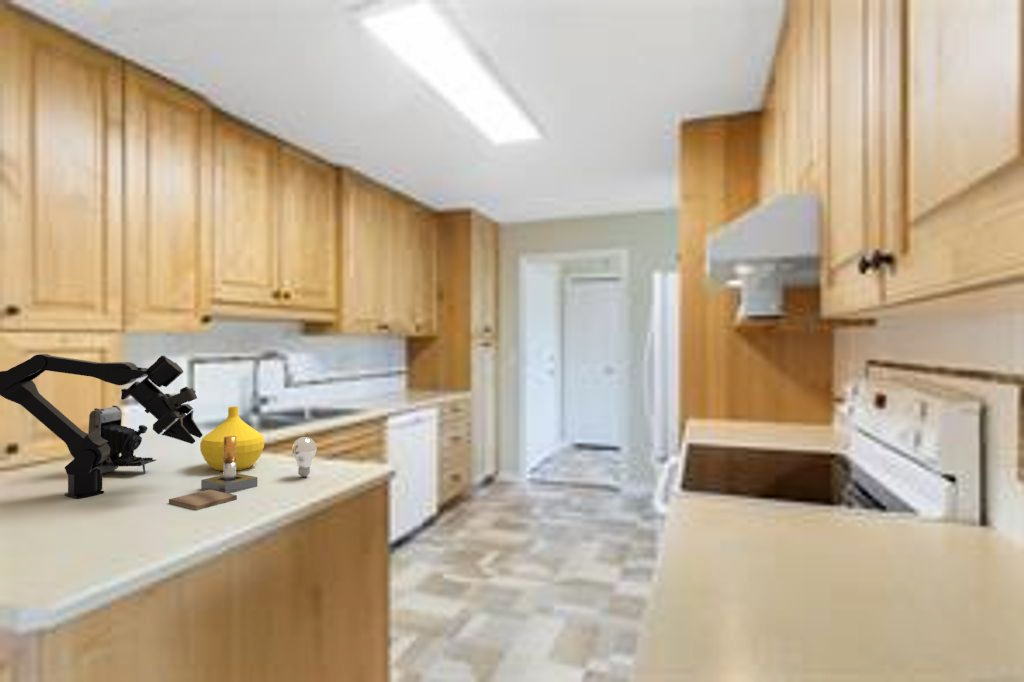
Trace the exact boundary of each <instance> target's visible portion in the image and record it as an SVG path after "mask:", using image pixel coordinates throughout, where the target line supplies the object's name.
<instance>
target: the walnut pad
mask: <svg viewBox="0 0 1024 682" xmlns="http://www.w3.org/2000/svg"><path fill="white" fill-rule="evenodd" d="M237 497H238V495H237V494H232V493H229V494H228V493H223V492H219V491H214V490H202V491H197V492H193V493H190V494H184V495H181V496H177V497H172V498H168V504H171V505H173V506H179V507H183V508H186V509H191V510H195V511H198V510H202V509H205V508H206V509H207V508H209V507H213V506H217V505H220V504H223V503H228V502H231V501H235V500H238V498H237Z"/></svg>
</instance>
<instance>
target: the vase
mask: <svg viewBox="0 0 1024 682" xmlns="http://www.w3.org/2000/svg"><path fill="white" fill-rule="evenodd" d="M227 410H228V411H227V413H228V414H227V417H226V419H224V421H222V422H221V423H220V424H219V425H218V426H216V427H215V428H214V429H212V430H211V431H210V432H208V433H207V434H206V435H205V436H204V435H203V436H202V437H201V438H202V439H201V441H200V446H199V449H200V453H201V455H202V457H203V460H204V461H205V462H206V463H207V464H208V465H209V466H210V467H211V468H213V470H216V471H220V472H223V458H224V437H226V436H237V442H236V472H238V471H242V470H247V469H248V468H250V467H251V466H253V465H254V464H255V463H256V462H257V461H258V460H259V458H260V457H261V455H262V453H263V451H264V448H265V437H264V436H263V434H262V433H261V432H259V431H257V430H256V429H255V428H253V427H252V426H250V425H249V424H248V423H246V422H245V421H244V420H243V419H242V418H241V417H240V415H239V406H228V409H227Z"/></svg>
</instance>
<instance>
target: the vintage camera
mask: <svg viewBox="0 0 1024 682" xmlns="http://www.w3.org/2000/svg"><path fill="white" fill-rule="evenodd" d="M122 411H123V410H121V408H120V406H118V405H111V407H104V408H94V409H93V410H92V411H90V413H89V415H88V417H89V418H88V431H87V433H88V434H90V433H92V432H95V431H96V432H98V433H99V435H100V436H101V437H102V438H103V439H105V440H107V441H108V442H107V444H108V445H109V447H110V454H109V457H108V458H107V459H106V460H104V461H103V462H102V465H101V467H98V469H101V474H102V475H103V474H107V473H110V472H113V471H114V470H117V469H118V468H119V467H141V466H142V471H143V472H142V473H143V475H146V465H148V464H150V463H153V462H156V461H157V459H154V457H141V456H136V455H135V454H134V452H135V450H137V449H138V448H139V447H140V445H141V443H142V441H143V438H142V436H141V435H143V434H145V433H146V432H147V431H148V427H147V426H146V425H144V424H140V425H138V430H135V429H134V428H132V427H127V426H124V425H122V415H123V414H122V413H123V412H122Z"/></svg>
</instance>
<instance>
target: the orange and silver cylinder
mask: <svg viewBox="0 0 1024 682" xmlns="http://www.w3.org/2000/svg"><path fill="white" fill-rule="evenodd" d="M236 442H237V436H226V437H224V458H223V471H222V473H223V474H222V475H223V481H232V480H236V473H237V471H236Z"/></svg>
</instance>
